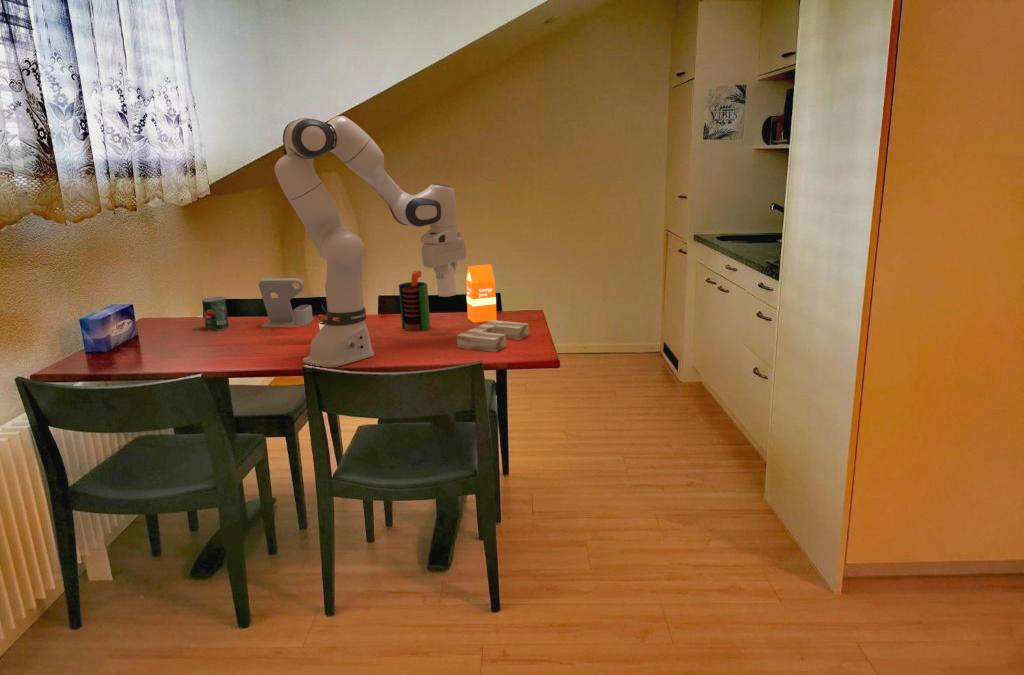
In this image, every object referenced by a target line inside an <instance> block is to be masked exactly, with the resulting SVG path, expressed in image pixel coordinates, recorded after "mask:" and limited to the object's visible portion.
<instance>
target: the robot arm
mask: <svg viewBox="0 0 1024 675" xmlns="http://www.w3.org/2000/svg"><path fill="white" fill-rule="evenodd" d="M282 143H283V156H281V157H280V158H279V159H278V160H277V162H276V163H275V164H274V167H273V168H274V174H275V176H276V179H277V182H278V183H279V186H280V188H281V190H282V192H283V194H284V195H285V197H286V199H287V200H288V202H289V203H290V205H291V206H292V208H293V209H294V211H295V213H296V215H297V216H298V218H299V220H300V221H301V222H302V224H303V226H304V228H305V230H306V232H307V234H308V236H309V237H310V240H311V242H312V244H313V245H314V247H315V248H316V250H317V252H318V254H319V255H320V257H321V258H322V259H324V260H325V261H326V280H325V283H324V284H325V286H324V288H325V297H326V298H325V299H326V306H327V310H325V314H318V315H317V320H318V321H320V322H324V324H323V326H322V327H321V328H320V330H319V331H318V333H317V334H316V335H315V336H314V337H313V339H312V340H311V342H310V345H309V346H310V347H309V348H310V349H309V355H308V356H306V357H304V358H302V363H303V364H305V363H306V365H308V364H310V365H309V366H312V365H315V366H314V367H319V366H322V367H321V368H337V367H341V366H345V365H347V364H350V363H353V362H357V361H361V360H364V359H367V358H371V357H374V356H375V352H374V350H373V347H372V343H371V339H370V333H369V329H368V326H367V322H366V320H367V312H366V308H365V306H364V294H363V292H364V291H363V272H364V271H363V269H364V258H365V256H366V248H365V247H366V246H365V245H364V242H363V240H362V239H361V238H360V236H359V235H358V234H357V233H355V232H353V231H351V230H348V229H347V227H346V226H345V224H344V222H343V219H342V217H341V216H340V213H339V210H338V208H337V204H336V203H335V202H334V199H333V198H332V196H331V195H330V193H329V191H328V189H327V188H326V187H325V184H323V182H322V180H321V178H320V176H319V175H318V174H317V172H316V169H315V166H314V159H316V158H319V157H321V156H324V155H325V154H327V153H329V152H331V153H333V154H334V155H335V156H336V157H338V159H339V160H340V161H341V162H342V163H343V164H344V165H345V166H346V167H347V168H348V169H349V170H351V171H352V172H353V173H354V174H356V176H358V177H360V178H361V179H362V180H364V181H365V182H366V183H368V184H369V186H371V187H372V189H373V190H375V192H376V193H377V194H378V195H379V196H380V197H381V199H383V201H384V202H386V205H388V207H389V210H390V213H391V215H392V217H393V218H394V220H395V221H396V222H397V223H398V224H400V225H403V226H411V227H415V228H420V227H421V228H422V227H425V226H429V230H428V231H427V232H425V233H424V234H423V235H422V236H421V237H420V242H421V244H422V246H421V259H422V260H421V261H422V265H423V267H425V268H427V269H428V268H429V269H432V268H433V271H434V273H435V275H436V278H435V279H436V280H437V279H439V280H440V279H443V273H441V270H440V269H441V265H445V264H449V263H450V264H451V266H452V268H453V269H454V271H455V272H456V269H457V266H458V262H459V261H463V260H466V256H467V253H466V252H467V251H466V243H465V240H464V236H463V234H461V232H459V230H458V222H457V214H458V209H457V200H456V199H457V198H456V192H455V189H454V188H453V187H452V186H450V185H447V184H441V183H440V184H439V183H432V184H430V185H429V186H428V187H426V188H425V189H424V190H422V191H420V192H419V193H416V194H410V193H407V192H406V191H404V190H403V189H401V187H400V186H399V185H398V184H397V183H396V182H395V181H394V180H393V179H392V178H391V177H390V175H389V174H388V173H387V171H386V169H385V154H384V153H383V151H382V150H381V148H380V147H379V145H378V144H377V143H376V142H375V140H374V139H372V137H371V136H370V135H369V134H368V133H367V132H366V131H365V130H363V129H362V128H361V127H360V126H359V125H357V123H355V122H354V121H353V120H351V119H349V118H348V117H346V116H344V115H337V116H335V117H332V118H331V119H330V120H329V121H328V122H325V121H321V120H319V119H316V118H308V117H300V118H297V119H295V120H292V121H290V122H288V124H287V125H285V127H284V131H283V133H282Z"/></svg>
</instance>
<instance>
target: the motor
mask: <svg viewBox="0 0 1024 675" xmlns="http://www.w3.org/2000/svg"><path fill="white" fill-rule="evenodd" d="M419 278H422V271H421V270H414V271H412V274H411V281H410V282H404V283H400V284H398V294H399V304H400V305H399V306H400V315H401V316H400V317H401V318H400V319H401V327H402V329H404V330H405V331H408V332H418V331H422V332H423V331H427V330H429V329H430V328H431V319H430V318H431V317H430V307H429V292H428V290H429V288H428V283H427V282H424V281H419Z"/></svg>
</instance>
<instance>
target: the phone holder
mask: <svg viewBox="0 0 1024 675" xmlns="http://www.w3.org/2000/svg"><path fill="white" fill-rule="evenodd" d="M294 283H297V284H298V285H299V287H296V286H295V285H294ZM258 287H259V290H260V293H261V297H262V300H263V304H264V308H265V311H266V313H267V317H268V321H267V322H264V323H263V324H261V328H263V327H275V326H277V327H278V326H306V325H307V324H309V323H310V322H311V321H312V320H313V319H314V318H313V308H312V305H311V304H302V305H299V306H297V307H295V308H294V309H293V308H292V304H291V300H292V299H293V298H294V297H296V296H297V295H298V294H300V293H301V292H303V290H304V288H305V283H304V281H303V280H302V279H301V278H297V277H291V278H289V277H287V278H286V277H285V278H284V277H280V278H279V277H278V278H276V277H275V278H274V277H273V278H271V277H270V278H268V277H267V278H262V279H260V281H259V282H258ZM272 293H274V294H276V295H277V298H274V297H273V296H272V295H271V294H272ZM309 325H310V324H309ZM306 327H307V326H306Z"/></svg>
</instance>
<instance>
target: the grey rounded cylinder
mask: <svg viewBox="0 0 1024 675" xmlns="http://www.w3.org/2000/svg"><path fill="white" fill-rule="evenodd" d="M440 270H441V273H443V279H440V280H439V279H437V278H436V281H437V282H436V283H437V295H438V297H442V298H443V297H447V298H448V297H452V296H453V297H454V296H456V295H457V289H456V288H457V286H456V270H455V271H454V269H453V268H452V266H451V264H450V263H449V264H445V265H441V269H440Z"/></svg>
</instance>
